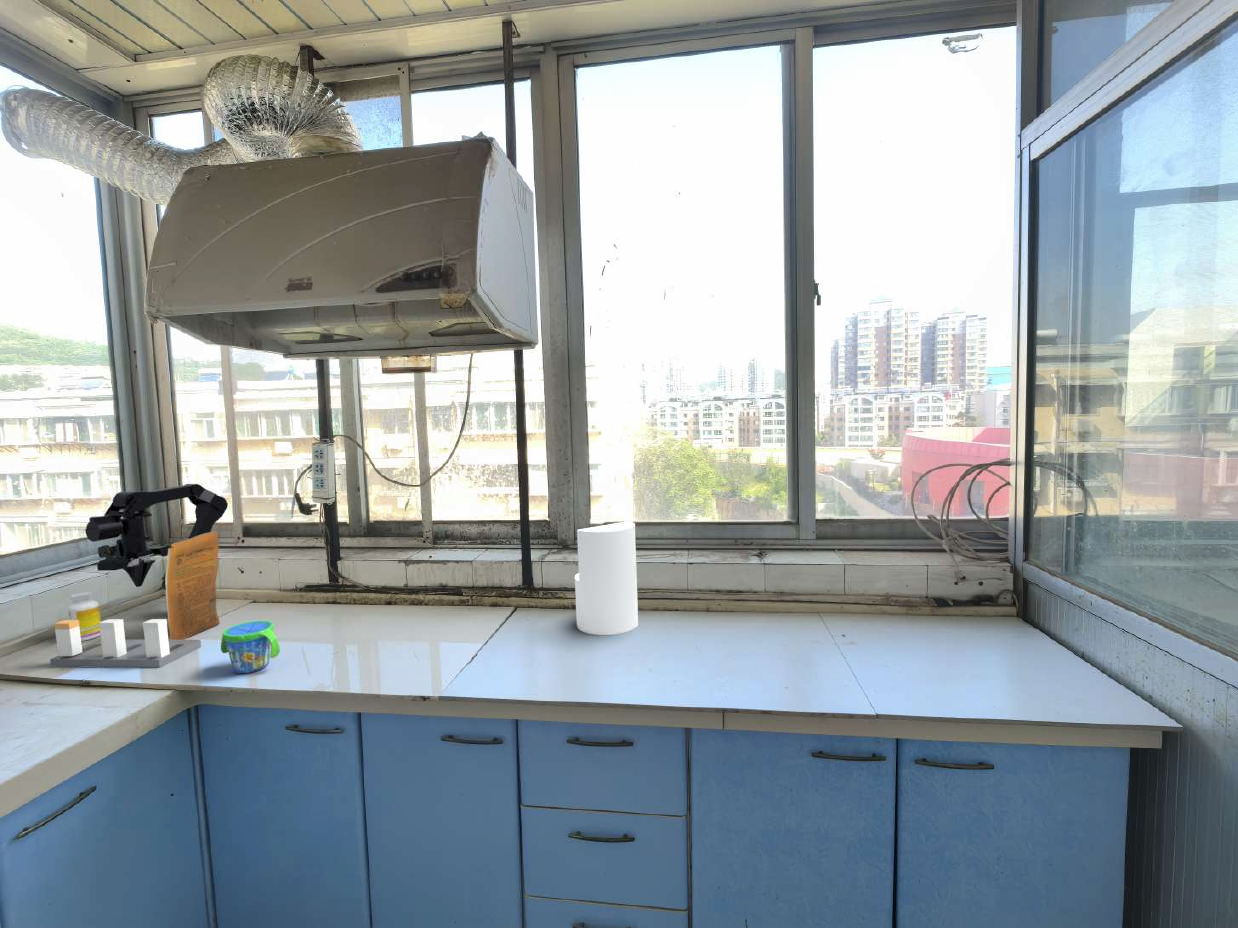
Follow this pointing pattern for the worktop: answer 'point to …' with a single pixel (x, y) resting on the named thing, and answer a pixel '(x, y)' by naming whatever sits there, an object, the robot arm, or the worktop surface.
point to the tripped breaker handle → (68, 637)
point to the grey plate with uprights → (130, 647)
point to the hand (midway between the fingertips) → (138, 586)
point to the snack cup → (250, 645)
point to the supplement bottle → (85, 615)
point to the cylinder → (607, 579)
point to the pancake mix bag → (192, 585)
